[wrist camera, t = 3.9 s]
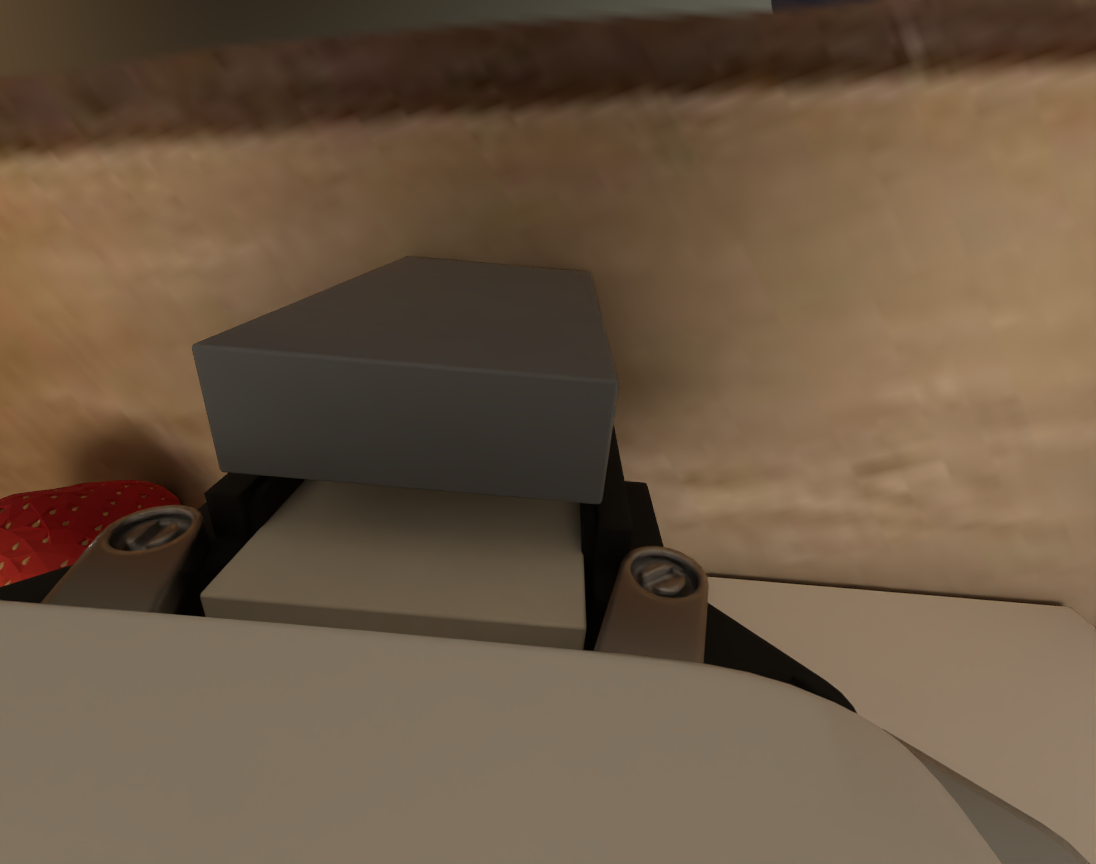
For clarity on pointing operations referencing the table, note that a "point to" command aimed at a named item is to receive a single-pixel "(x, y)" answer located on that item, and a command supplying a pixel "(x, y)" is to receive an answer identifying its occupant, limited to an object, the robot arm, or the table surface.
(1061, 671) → the rounded block with hole
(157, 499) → the fruit
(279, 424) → the grey books
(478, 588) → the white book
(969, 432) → the table surface
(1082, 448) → the table surface
